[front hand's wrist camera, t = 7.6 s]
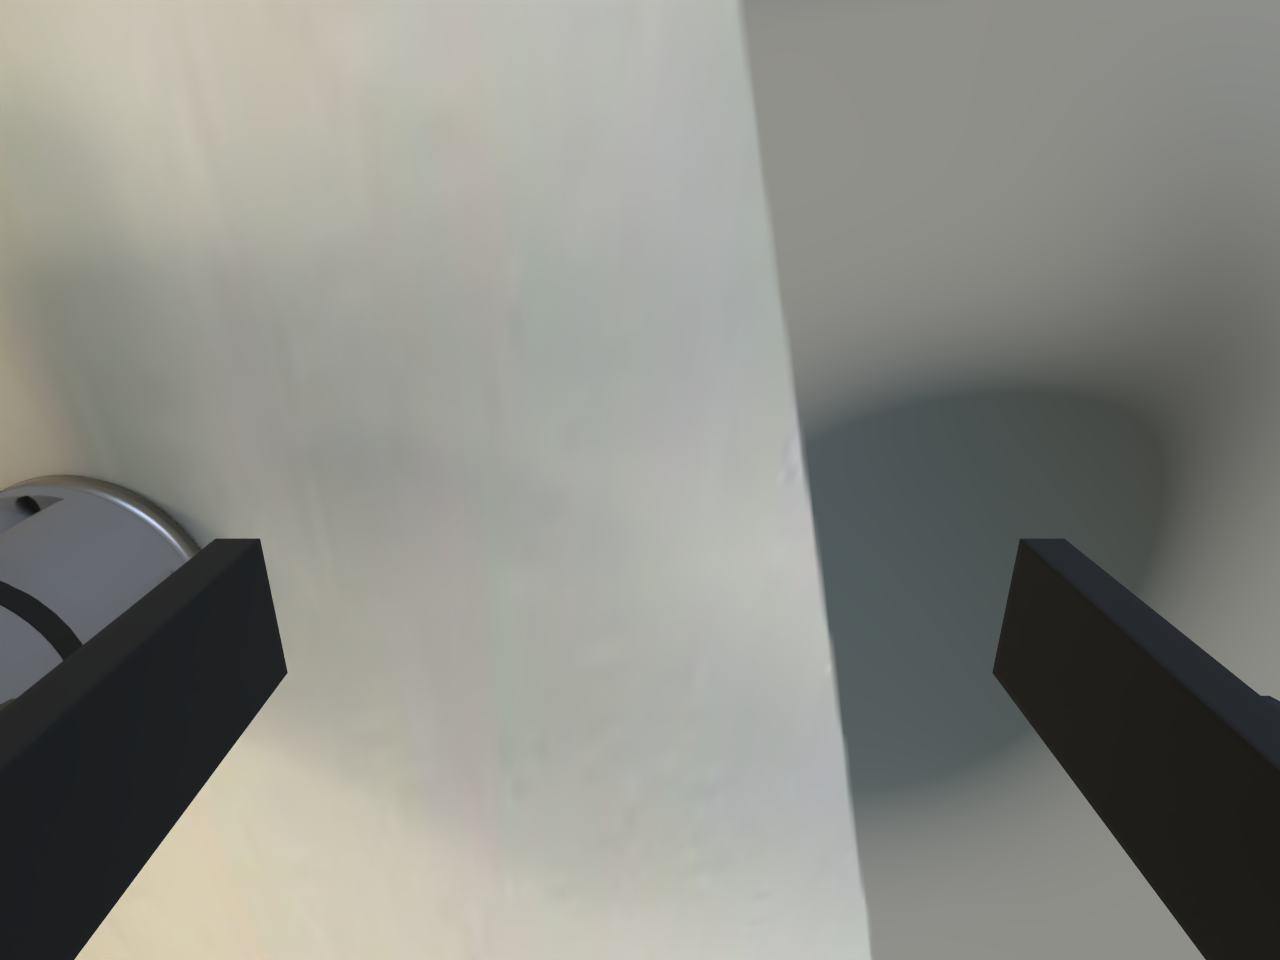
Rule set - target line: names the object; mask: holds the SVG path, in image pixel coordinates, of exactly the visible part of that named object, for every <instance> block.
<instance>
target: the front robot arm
mask: <svg viewBox="0 0 1280 960" xmlns="http://www.w3.org/2000/svg"><path fill="white" fill-rule="evenodd" d="M286 674H287V668H286V663H285V658H284V653H283V649H282V644H281V639H280V634H279V629H278V624H277V619H276V614H275V610H274V605H273V600H272V595H271V590H270V585H269V580H268V575H267V571H266V566H265V561H264V556H263V551H262V546H261V541H260V539H215V540H213V541H212V542H211V543H210V544H208V545H207V546H206V547H205V548H203V549H202V550H201V551H200V549H199V548H198V547H197V545H196V544H195V542H194V541H193V540H192V539H191V537H190V536H189V535H188V534H187V533H186V532H185V531H184V530H183V529H182V528H181V527H180V525H179V524H178V523H177V522H175V521H174V520H173V519H172V518H171V517H170V516H168V515H167V514H166V513H165V512H163V511H162V510H161V509H159V508H158V507H157V506H155V505H154V504H152V503H151V502H149V501H147V500H146V499H144V498H142V497H140V496H138V495H137V494H135V493H133V492H131V491H128V490H126V489H124V488H121V487H119V486H116V485H113V484H110V483H108V482H104V481H100V480H96V479H92V478H86V477H80V476H69V475H53V476H43V477H38V478H33V479H29V480H26V481H23V482H20V483H17V484H15V485H13V486H11V487H8V488H6V489H4V490H2V491H0V960H74V959H75V958H76V956H77V955H78V954H79V952H80V951H81V950H82V948H83V947H84V946H85V944H86V943H87V942H88V940H89V939H90V938H91V936H92V935H93V934H94V932H95V931H96V930H97V928H98V927H99V926H100V924H101V923H102V922H103V920H104V919H105V917H106V916H107V915H108V913H109V912H110V911H111V909H112V908H113V907H114V905H115V904H116V903H117V901H118V900H119V899H120V897H121V896H122V895H123V893H124V892H125V891H126V889H127V888H128V887H129V885H130V884H131V883H132V881H133V880H134V878H135V877H136V876H137V874H138V873H139V872H140V870H141V869H142V868H143V866H144V865H145V864H146V862H147V861H148V860H149V858H150V857H151V856H152V854H153V853H154V852H155V850H156V849H157V848H158V846H159V845H160V844H161V842H162V841H163V839H164V838H165V837H166V835H167V834H168V833H169V831H170V830H171V829H172V827H173V826H174V825H175V823H176V822H177V821H178V819H179V818H180V817H181V815H182V814H183V813H184V811H185V810H186V809H187V807H188V806H189V805H190V803H191V802H192V800H193V799H194V798H195V796H196V795H197V794H198V792H199V791H200V790H201V788H202V787H203V786H204V784H205V783H206V782H207V780H208V779H209V778H210V776H211V775H212V774H213V772H214V771H215V770H216V768H217V767H218V766H219V764H220V763H221V761H222V760H223V759H224V757H225V756H226V755H227V753H228V752H229V751H230V749H231V748H232V747H233V745H234V744H235V743H236V741H237V740H238V739H239V737H240V736H241V735H242V733H243V732H244V731H245V729H246V728H247V727H248V725H249V724H250V722H251V721H252V720H253V718H254V717H255V716H256V714H257V713H258V712H259V710H260V709H261V708H262V706H263V705H264V704H265V702H266V701H267V700H268V698H269V697H270V696H271V694H272V693H273V692H274V690H275V689H276V688H277V686H278V685H279V683H280V682H281V681H282V679H283V678H284V677H285V675H286ZM993 674H994V675H995V677H996V678H997V679H998V681H999V682H1000V683H1001V685H1002V686H1003V688H1004V689H1005V690H1006V691H1007V693H1008V694H1009V696H1010V697H1011V698H1012V700H1013V701H1014V702H1015V704H1016V705H1017V706H1018V708H1019V709H1020V710H1021V712H1022V713H1023V714H1024V716H1025V717H1026V718H1027V720H1028V721H1029V722H1030V724H1031V725H1032V727H1033V728H1034V729H1035V731H1036V732H1037V733H1038V735H1039V736H1040V737H1041V739H1042V740H1043V741H1044V743H1045V744H1046V745H1047V747H1048V748H1049V749H1050V751H1051V752H1052V753H1053V755H1054V756H1055V757H1056V759H1057V760H1058V761H1059V763H1060V764H1061V765H1062V767H1063V768H1064V770H1065V771H1066V772H1067V774H1068V775H1069V776H1070V778H1071V779H1072V780H1073V781H1074V783H1075V784H1076V786H1077V787H1078V788H1079V790H1080V791H1081V792H1082V794H1083V795H1084V796H1085V798H1086V799H1087V800H1088V802H1089V803H1090V805H1091V806H1092V807H1093V809H1094V810H1095V811H1096V813H1097V814H1098V815H1099V817H1100V818H1101V819H1102V821H1103V822H1104V823H1105V825H1106V826H1107V827H1108V829H1109V830H1110V831H1111V833H1112V834H1113V835H1114V837H1115V838H1116V839H1117V841H1118V842H1119V843H1120V845H1121V846H1122V848H1123V849H1124V850H1125V852H1126V853H1127V854H1128V856H1129V857H1130V858H1131V860H1132V861H1133V862H1134V864H1135V865H1136V866H1137V868H1138V869H1139V870H1140V872H1141V873H1142V874H1143V876H1144V877H1145V878H1146V880H1147V881H1148V883H1149V884H1150V885H1151V887H1152V888H1153V889H1154V891H1155V892H1156V893H1157V895H1158V896H1159V897H1160V899H1161V900H1162V901H1163V903H1164V904H1165V905H1166V907H1167V908H1168V909H1169V911H1170V912H1171V913H1172V915H1173V916H1174V917H1175V919H1176V920H1177V922H1178V923H1179V924H1180V926H1181V927H1182V928H1183V930H1184V931H1185V932H1186V934H1187V935H1188V936H1189V938H1190V939H1191V940H1192V942H1193V943H1194V944H1195V946H1196V947H1197V948H1198V950H1199V951H1200V952H1201V954H1202V955H1203V956H1204V958H1205V959H1206V960H1280V701H1278V700H1276V699H1274V698H1272V697H1271V696H1260V695H1259V694H1257V693H1256V692H1255V691H1254V690H1252V689H1251V688H1250V687H1249V686H1247V685H1246V684H1245V683H1244V682H1242V681H1241V680H1240V679H1239V678H1238V677H1236V676H1235V675H1234V674H1233V673H1231V672H1230V671H1229V670H1228V669H1226V668H1225V667H1224V666H1222V665H1221V664H1220V663H1219V662H1217V661H1216V660H1215V659H1214V658H1213V657H1211V656H1210V655H1209V654H1208V653H1206V652H1205V651H1204V650H1203V649H1201V648H1200V647H1199V646H1198V645H1196V644H1195V643H1194V642H1192V641H1191V640H1190V639H1189V638H1188V637H1186V636H1185V635H1184V634H1183V633H1181V632H1180V631H1179V630H1178V629H1176V628H1175V627H1174V626H1173V625H1171V624H1170V623H1169V622H1168V621H1166V620H1165V619H1164V618H1163V617H1161V616H1160V615H1159V614H1158V613H1156V612H1155V611H1154V610H1153V609H1151V608H1150V607H1149V606H1148V605H1146V604H1145V603H1144V602H1143V601H1141V600H1140V599H1139V598H1138V597H1136V596H1135V595H1134V594H1133V593H1131V592H1130V591H1129V590H1128V589H1126V588H1125V587H1124V586H1123V585H1121V584H1120V583H1119V582H1118V581H1116V580H1115V579H1114V578H1113V577H1111V576H1110V575H1109V574H1108V573H1106V572H1105V571H1104V570H1103V569H1102V568H1100V567H1099V566H1098V565H1097V564H1095V563H1094V562H1093V561H1092V560H1090V559H1089V558H1088V557H1086V556H1085V555H1084V554H1083V553H1082V552H1080V551H1079V550H1078V549H1076V548H1075V547H1074V546H1073V545H1072V544H1070V543H1069V542H1068V541H1067V540H1065V539H1020V541H1019V546H1018V551H1017V556H1016V561H1015V566H1014V571H1013V576H1012V580H1011V585H1010V590H1009V595H1008V600H1007V605H1006V610H1005V614H1004V619H1003V624H1002V629H1001V634H1000V639H999V644H998V649H997V654H996V658H995V663H994V668H993Z"/></svg>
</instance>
